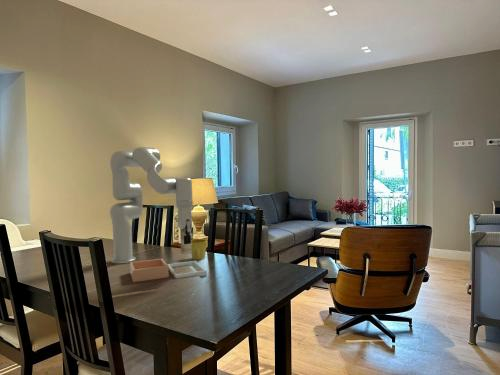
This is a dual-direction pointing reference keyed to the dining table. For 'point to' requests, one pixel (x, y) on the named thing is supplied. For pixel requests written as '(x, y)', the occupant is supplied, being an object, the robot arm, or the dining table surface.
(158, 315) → the dining table surface
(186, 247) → the maple peg
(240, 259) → the dining table surface
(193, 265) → the grey tray
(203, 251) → the plant pot
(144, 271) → the peach square hollow box
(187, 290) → the dining table surface
